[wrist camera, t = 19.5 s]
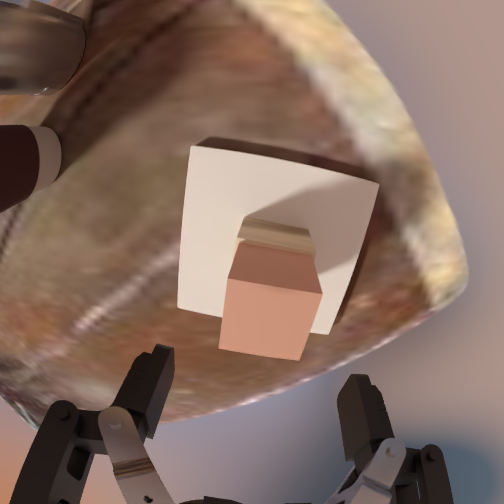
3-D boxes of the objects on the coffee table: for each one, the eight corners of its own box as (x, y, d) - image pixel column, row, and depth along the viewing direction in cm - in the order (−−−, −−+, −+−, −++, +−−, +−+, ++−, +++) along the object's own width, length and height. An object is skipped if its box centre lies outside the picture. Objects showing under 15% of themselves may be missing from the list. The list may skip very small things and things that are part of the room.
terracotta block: (239, 242, 18) (227, 278, 14) (311, 255, 18) (322, 294, 14) (230, 303, 20) (218, 348, 16) (295, 314, 20) (299, 360, 16)
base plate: (195, 145, 22) (191, 145, 21) (374, 182, 22) (379, 184, 21) (180, 301, 28) (177, 307, 27) (326, 327, 28) (328, 334, 27)
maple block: (244, 216, 23) (236, 237, 18) (308, 229, 23) (316, 252, 18) (234, 273, 25) (225, 304, 20) (293, 284, 25) (296, 317, 21)
